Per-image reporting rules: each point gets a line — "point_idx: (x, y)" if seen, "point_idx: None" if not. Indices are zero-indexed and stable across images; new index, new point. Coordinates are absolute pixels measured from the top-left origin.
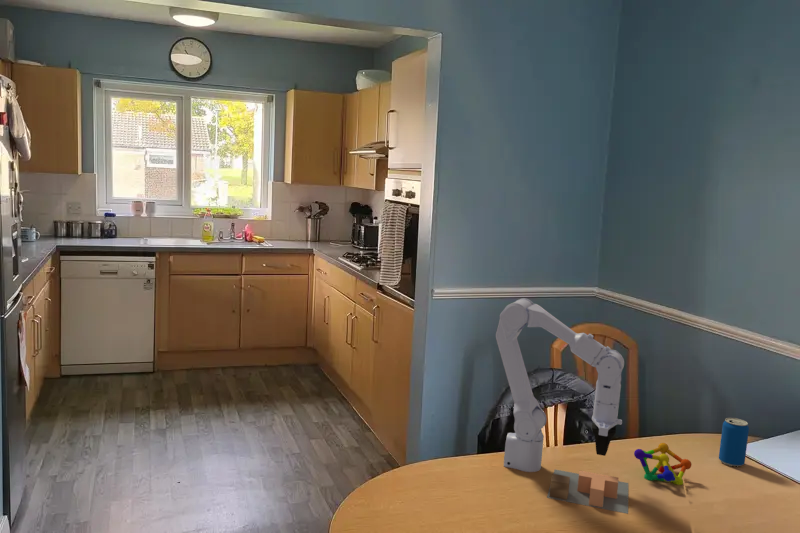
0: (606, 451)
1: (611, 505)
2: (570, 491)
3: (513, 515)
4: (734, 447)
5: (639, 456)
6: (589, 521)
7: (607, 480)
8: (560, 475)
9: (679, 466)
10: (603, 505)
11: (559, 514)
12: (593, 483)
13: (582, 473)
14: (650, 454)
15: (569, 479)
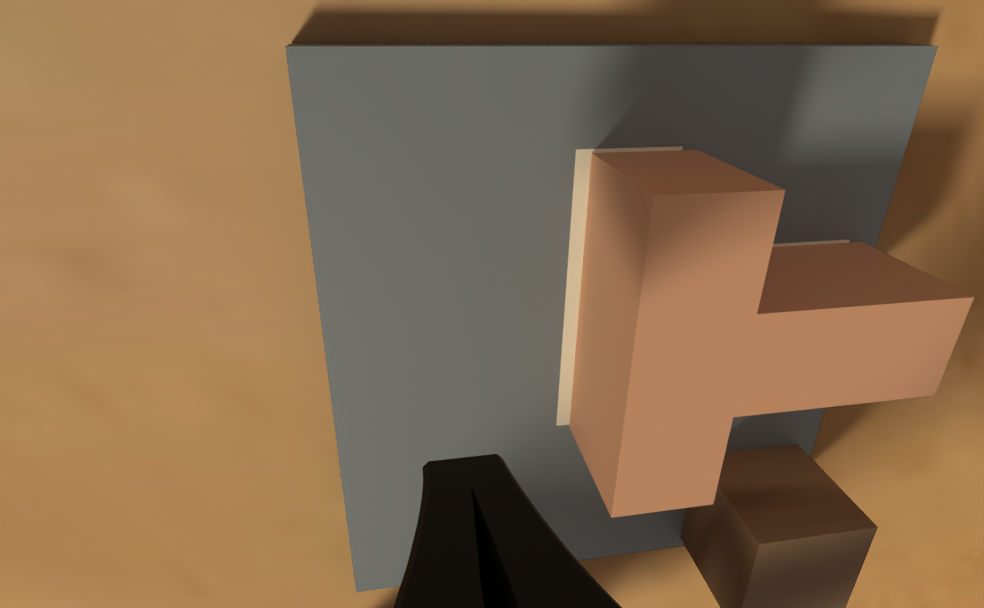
0: (521, 493)
1: (824, 182)
2: None
3: (931, 578)
4: None
5: None
6: (969, 285)
7: (758, 292)
8: (751, 592)
9: None
10: (832, 236)
11: (903, 432)
12: (847, 388)
13: (668, 490)
14: None
15: (785, 534)
